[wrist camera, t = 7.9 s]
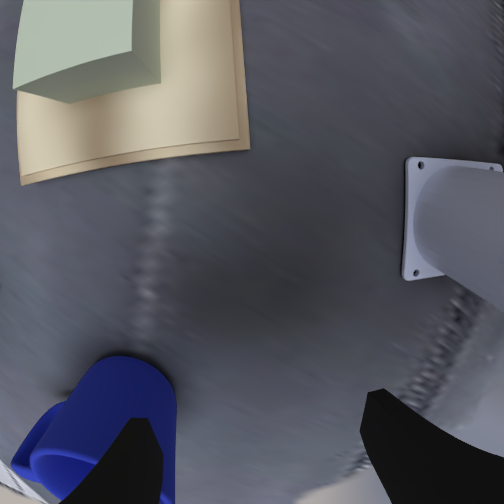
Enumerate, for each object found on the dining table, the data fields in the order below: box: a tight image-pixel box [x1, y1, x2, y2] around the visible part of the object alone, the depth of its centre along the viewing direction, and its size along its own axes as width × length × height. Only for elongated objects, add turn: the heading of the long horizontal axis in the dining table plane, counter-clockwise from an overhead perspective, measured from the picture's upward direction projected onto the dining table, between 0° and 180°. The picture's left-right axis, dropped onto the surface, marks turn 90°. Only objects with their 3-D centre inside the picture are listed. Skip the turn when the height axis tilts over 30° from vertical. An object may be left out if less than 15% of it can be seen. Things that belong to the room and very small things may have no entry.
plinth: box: [17, 0, 250, 186], centre depth 13 cm, size 13×13×2 cm
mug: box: [11, 356, 177, 504], centre depth 16 cm, size 8×12×10 cm
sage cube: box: [13, 0, 161, 104], centre depth 10 cm, size 5×5×5 cm
